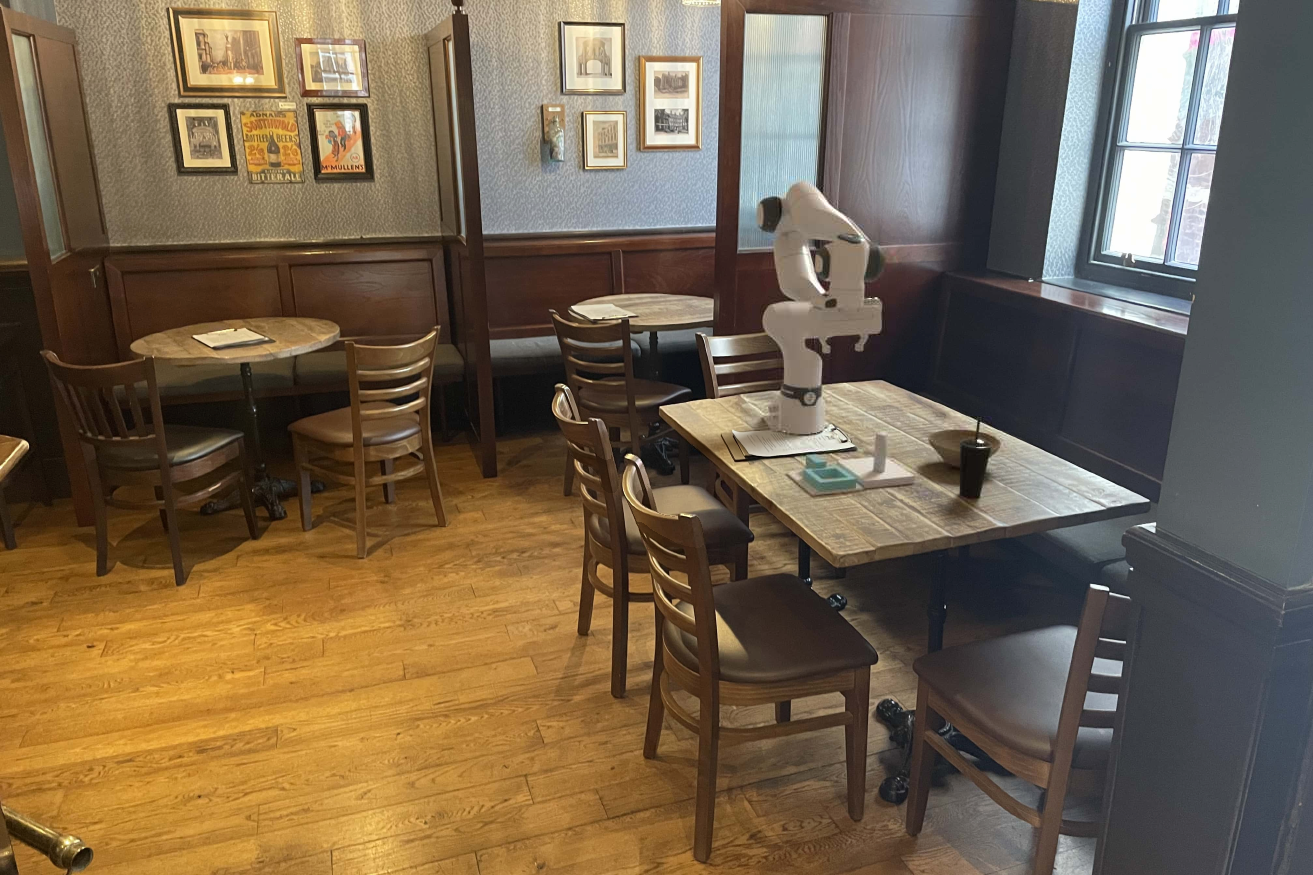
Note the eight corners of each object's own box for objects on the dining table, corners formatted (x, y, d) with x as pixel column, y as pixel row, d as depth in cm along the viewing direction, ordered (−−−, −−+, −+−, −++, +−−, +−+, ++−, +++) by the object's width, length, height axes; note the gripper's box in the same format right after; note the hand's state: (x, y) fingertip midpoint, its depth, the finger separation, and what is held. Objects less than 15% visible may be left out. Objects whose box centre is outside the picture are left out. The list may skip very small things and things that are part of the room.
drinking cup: (985, 502, 224) (995, 424, 217) (952, 498, 226) (961, 420, 220) (986, 491, 231) (996, 415, 224) (954, 487, 233) (963, 412, 227)
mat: (786, 473, 242) (786, 471, 242) (834, 469, 246) (834, 467, 246) (812, 495, 228) (812, 493, 227) (863, 490, 231) (863, 487, 231)
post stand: (836, 467, 247) (839, 424, 243) (883, 463, 251) (886, 421, 247) (865, 488, 232) (868, 443, 229) (914, 483, 236) (918, 438, 232)
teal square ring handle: (793, 470, 243) (793, 456, 242) (827, 467, 246) (828, 453, 244) (819, 491, 228) (820, 476, 227) (855, 488, 231) (857, 473, 230)
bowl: (922, 473, 243) (924, 444, 241) (929, 452, 260) (932, 425, 257) (996, 482, 237) (999, 453, 235) (998, 460, 253) (1002, 432, 251)
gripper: (876, 295, 242) (872, 347, 246) (805, 298, 236) (802, 351, 241) (888, 299, 236) (884, 352, 240) (815, 302, 231) (812, 356, 235)
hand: (842, 351), depth 240 cm, fingers open, 8 cm apart
